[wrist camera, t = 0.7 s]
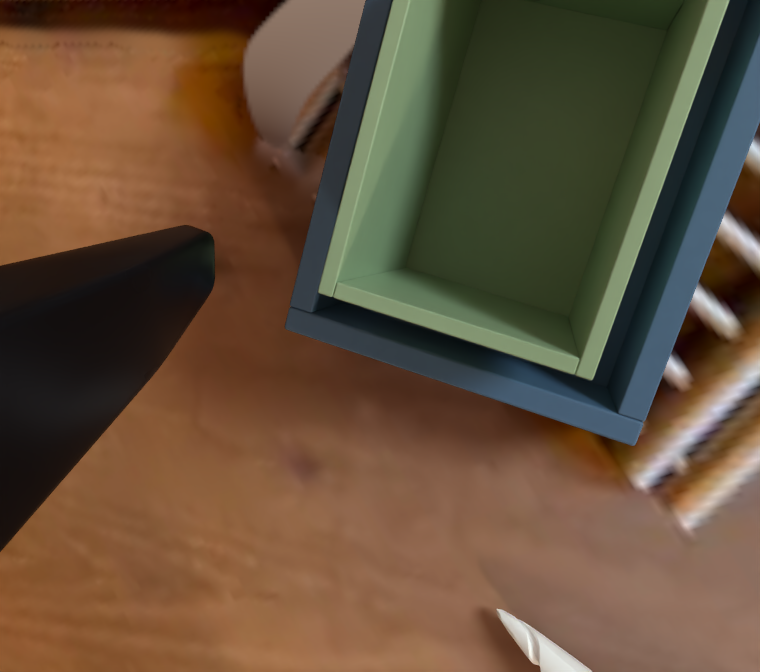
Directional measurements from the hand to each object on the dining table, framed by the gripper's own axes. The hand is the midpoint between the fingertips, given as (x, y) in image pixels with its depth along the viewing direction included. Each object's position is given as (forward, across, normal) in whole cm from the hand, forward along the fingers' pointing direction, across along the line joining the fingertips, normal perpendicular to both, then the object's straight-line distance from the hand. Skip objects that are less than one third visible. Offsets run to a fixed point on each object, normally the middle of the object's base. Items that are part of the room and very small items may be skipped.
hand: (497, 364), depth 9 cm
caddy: (+14, +2, +3) cm, 15 cm away
